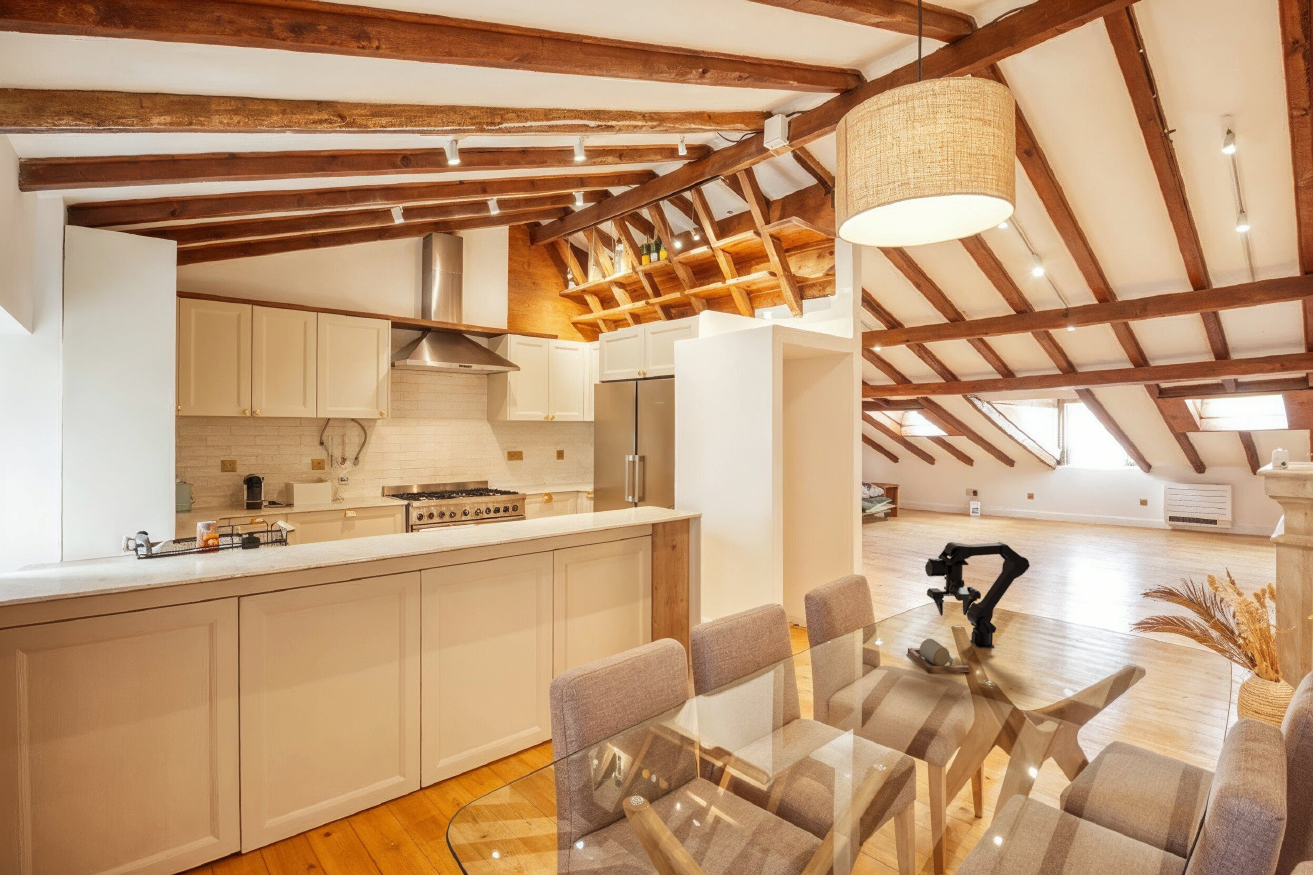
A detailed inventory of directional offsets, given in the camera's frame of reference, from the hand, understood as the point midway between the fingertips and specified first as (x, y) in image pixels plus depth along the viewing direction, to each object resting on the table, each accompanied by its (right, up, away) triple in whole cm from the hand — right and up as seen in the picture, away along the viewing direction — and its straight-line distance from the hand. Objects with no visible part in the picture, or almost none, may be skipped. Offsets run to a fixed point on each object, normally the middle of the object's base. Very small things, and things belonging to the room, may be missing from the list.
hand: (953, 615), depth 246 cm
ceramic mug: (-12, -14, -14) cm, 23 cm away
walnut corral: (-12, -13, -14) cm, 23 cm away
